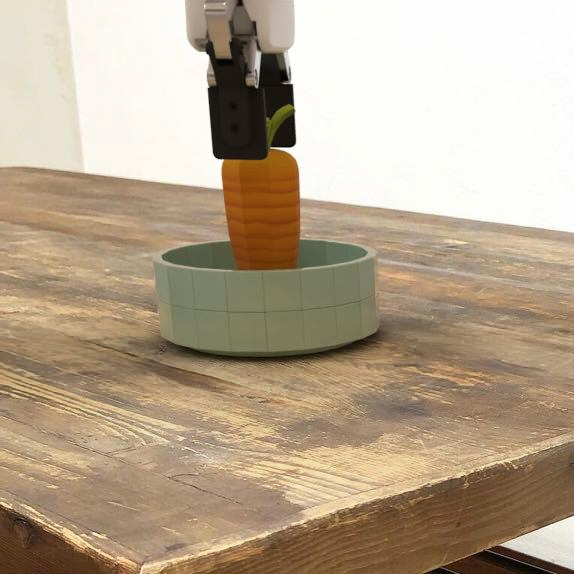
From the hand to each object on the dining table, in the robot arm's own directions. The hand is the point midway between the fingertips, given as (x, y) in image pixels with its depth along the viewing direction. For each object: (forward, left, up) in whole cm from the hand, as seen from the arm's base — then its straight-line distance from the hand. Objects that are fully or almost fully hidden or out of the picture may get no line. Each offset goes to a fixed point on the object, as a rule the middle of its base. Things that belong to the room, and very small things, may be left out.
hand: (257, 152), depth 78 cm
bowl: (0, 0, -12) cm, 12 cm away
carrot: (0, 0, -11) cm, 11 cm away
